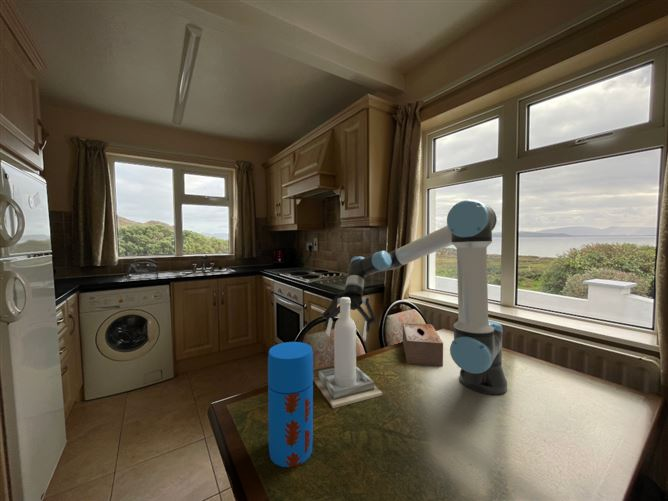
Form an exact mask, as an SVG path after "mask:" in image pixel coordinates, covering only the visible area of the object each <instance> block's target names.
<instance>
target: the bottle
mask: <svg viewBox="0 0 668 501" xmlns="http://www.w3.org/2000/svg"><path fill="white" fill-rule="evenodd" d="M339 298H340V303H339V306H340V313H339V314H340V315H339V316H340V317H339V318H338V319H337V320H336V321H335V324H334V329H333V330H334V332H333V334H334V338H333V339H334V340H333V341H334V342H333V343H334V345H333V346H334V348H333V349H334V356H333V358H334V363H333V364H334V382H335V384H337V385H338V386H341V387H348V386H353V385H355V383H356V366H357V326H356V322H355V321H354V319H352V317H351V309H350V303H351V301H350V298H349V297H343V296H342V297H339Z"/></svg>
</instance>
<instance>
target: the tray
mask: <svg viewBox="0 0 668 501" xmlns="http://www.w3.org/2000/svg"><path fill="white" fill-rule="evenodd" d="M313 383H315V385H316V386H317V388H318V389H319V390H320V392H321V394H323V396H324V398H325V399H326V401H327V402H328V403H329V405H330V406H331V408H332V409H336V408H341V407H343V406H347V405H351V404H355V403H359V402H363V401H366V400H370V399H373V398H377V397H382V396H383V391H381V390H380V389H379V388H378V387H377V386H376V385H375V381H374V380H373V379H372V378H370V376H368V374H366V373H365V372H364V371H362V370H361V369H360V368H359V367H358V366H357V365H356V383H355V385H353V386H348V387H341V386H338V385H337V384H335V382H334V363H330V364H324V365H320V366H315V367H314V366H313Z"/></svg>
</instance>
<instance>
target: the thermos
mask: <svg viewBox="0 0 668 501" xmlns="http://www.w3.org/2000/svg"><path fill="white" fill-rule="evenodd" d="M313 368H314V353H313V347H312V345H310V344H308V343H305V342H301V341H288V342H287V341H286V342H281V343H278V344H275V345H273V346H272V347H270V348H269V351H268V357H267V384H268V385H267V386H268V387H267V391H268V392H267V397H268V398H267V401H268V402H267V404H268V405H267V407H268V408H267V412H268V413H267V414H268V416H267V422H268V427H267V430H268V431H267V432H268V434H267V440H268V451H269V452H268V453H269V457H270V460H271V461H272V462H273V463H274V465H277V466H279V467H282V468H294V467H297V466H299V465H301V464H304V463H305V462H306V461H307V460H308V459H309V458H310V457H311V455H312V453H313V440H314V398H313V397H314V380H313Z"/></svg>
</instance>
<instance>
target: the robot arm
mask: <svg viewBox="0 0 668 501" xmlns="http://www.w3.org/2000/svg"><path fill="white" fill-rule="evenodd" d="M447 213H448V214H447V215H446V224H447V225H445V226H442V227H441V228H439V229H436V230H435V231H432V232H430V233H428V234H426V235H424V236H421V237H419V238H417V239H416V240H413V241H411V242H409V243H407V244H405V245H403V246H401V247H399V248H396V249H394V250H392V251H390V252H387V251H386V250H381V251H376V252H374V253H373V254H370V255H369V256H366V257H364V256H361V255H359V256H357V255H356V256H353V257H352V258H351V259H350V263H349V265H348V271H347V275H346V276H347V278H346V281H345V287H344V290H343V296H342V297H349V298H350V301H351V303H350V310H352V311H355V310H357V311H358V312H359V314H360V315H361V316H362V317H363V319H364V326H363V333H362V340H363V342H366V341H367V333H370V332H371V325H372V324H376V323H377V319H376V316H375V314H374V312H373V309H372V307H371V305H370V299H369V298H368V297H366V298H365V299H363V294H364V287H365V280H366V277H368V276H371V275H374V274H376V273H380V272H386V271H392V270H398V269H400V268H402V266H404V265H406V264H409V263H412V262H415V261H416V260H418V259H422V258H423V257H425V256H428V255H430V254H431V255H432V254H433V253H436V252H438V251H440V250H442V249H446V248H447V247H448V248H449V247H450V246H452V245H453V246H454V247H455V249H456V264H457V266H456V269H457V273H456V274H457V304H458V305H457V308H458V310H457V312H458V315H457V316H458V320H457V321H456V322H455V323H454V324H453V340H452V341H451V344H450V347H449V353H450V357H451V359H452V360H453V362H454V364H456V366H457V367H459V368H460V371H459V380H460V383H461V384H463V385H464V386H465V387H466V388H468V389H470V390H472V391H475V392H478V393H482V394H486V395H501V394H505V393H506V392H507V391H508V381H507V379H506V375H505V372H504V369H503V366H502V364H503V362H502V359H503V334H504V332H503V326H502V324H501V323H499V322H497V321H492V320H489V298H488V297H489V296H488V295H489V293H488V292H489V290H488V262H487V261H488V255H487V254H488V253H487V252H488V251H487V250H488V246H490V245H491V244H492V243H493V230H494V229H495V227H496V225H497V221H498V220H497V215H496V212H495V210H494V209H493V208H492V207H490V206H489V205H487V204H485V203H484V202H482V201H480V200H476V199H465V200H462V201H459V202H457V203H456V204H454V205H453V206H452V207H451V208H450V210H449V211H448V212H447ZM340 298H341V297H339V296H338V295H336V296H335V297H334V300H332V302H331V304H330V305H329V306H328V307H327V308H326V309H325V311H324V312H323V314H322V316H323V319H325V320H326V321H325V328H326V330H325V335H326V337H327V338H330V337H331V336H330V335H331V331H332V327H333V323H334V321H333V319H334V318H335V317H337V316H338V315H339V314H340ZM363 304H364V306H366V309H367V311H368V314H369V315H368V314H367V313H366V311H365V310H364V309H363V307H362V305H363ZM338 305H339V306H338Z"/></svg>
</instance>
